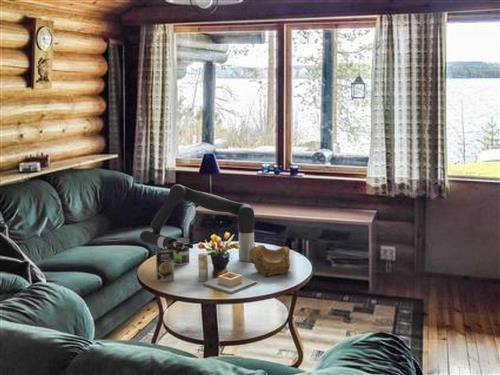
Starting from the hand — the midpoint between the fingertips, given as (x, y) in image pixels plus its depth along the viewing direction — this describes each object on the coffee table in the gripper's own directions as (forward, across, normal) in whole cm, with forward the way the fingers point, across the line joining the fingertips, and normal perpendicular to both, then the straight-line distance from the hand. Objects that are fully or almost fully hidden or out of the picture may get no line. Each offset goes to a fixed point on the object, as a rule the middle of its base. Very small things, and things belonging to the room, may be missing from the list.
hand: (186, 248), depth 307 cm
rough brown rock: (+34, +31, +15) cm, 48 cm away
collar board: (+28, +4, +15) cm, 32 cm away
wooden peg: (+12, 0, +15) cm, 20 cm away
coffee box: (-4, -13, +16) cm, 20 cm away
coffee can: (-20, +13, +16) cm, 28 cm away
